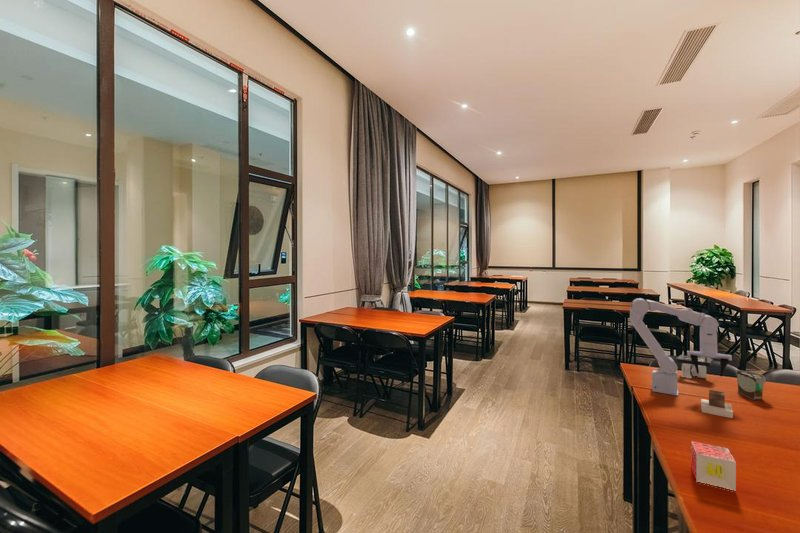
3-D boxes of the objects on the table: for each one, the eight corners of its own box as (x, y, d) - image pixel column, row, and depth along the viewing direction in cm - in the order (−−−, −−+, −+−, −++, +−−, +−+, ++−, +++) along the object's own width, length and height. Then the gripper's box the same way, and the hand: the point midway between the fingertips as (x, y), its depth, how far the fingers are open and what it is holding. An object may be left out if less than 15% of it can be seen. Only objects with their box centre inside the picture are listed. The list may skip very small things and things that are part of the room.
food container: (774, 402, 147) (774, 379, 147) (757, 401, 148) (757, 378, 148) (751, 392, 159) (751, 370, 159) (735, 391, 160) (735, 369, 160)
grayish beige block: (708, 405, 139) (708, 392, 139) (708, 401, 142) (708, 389, 142) (724, 408, 136) (724, 395, 136) (724, 404, 139) (724, 392, 139)
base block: (701, 413, 139) (701, 405, 139) (700, 405, 146) (701, 398, 146) (732, 419, 133) (733, 411, 133) (730, 411, 140) (730, 404, 140)
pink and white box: (696, 482, 95) (696, 453, 95) (691, 467, 101) (691, 440, 101) (736, 492, 91) (736, 462, 90) (728, 476, 97) (728, 448, 97)
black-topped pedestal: (655, 378, 180) (655, 352, 180) (665, 367, 198) (666, 344, 198) (729, 392, 160) (729, 363, 159) (734, 379, 177) (734, 353, 177)
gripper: (687, 342, 154) (687, 373, 154) (732, 347, 145) (733, 379, 145) (686, 340, 159) (687, 369, 159) (730, 343, 150) (731, 375, 150)
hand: (709, 374), depth 153 cm, fingers open, 7 cm apart
